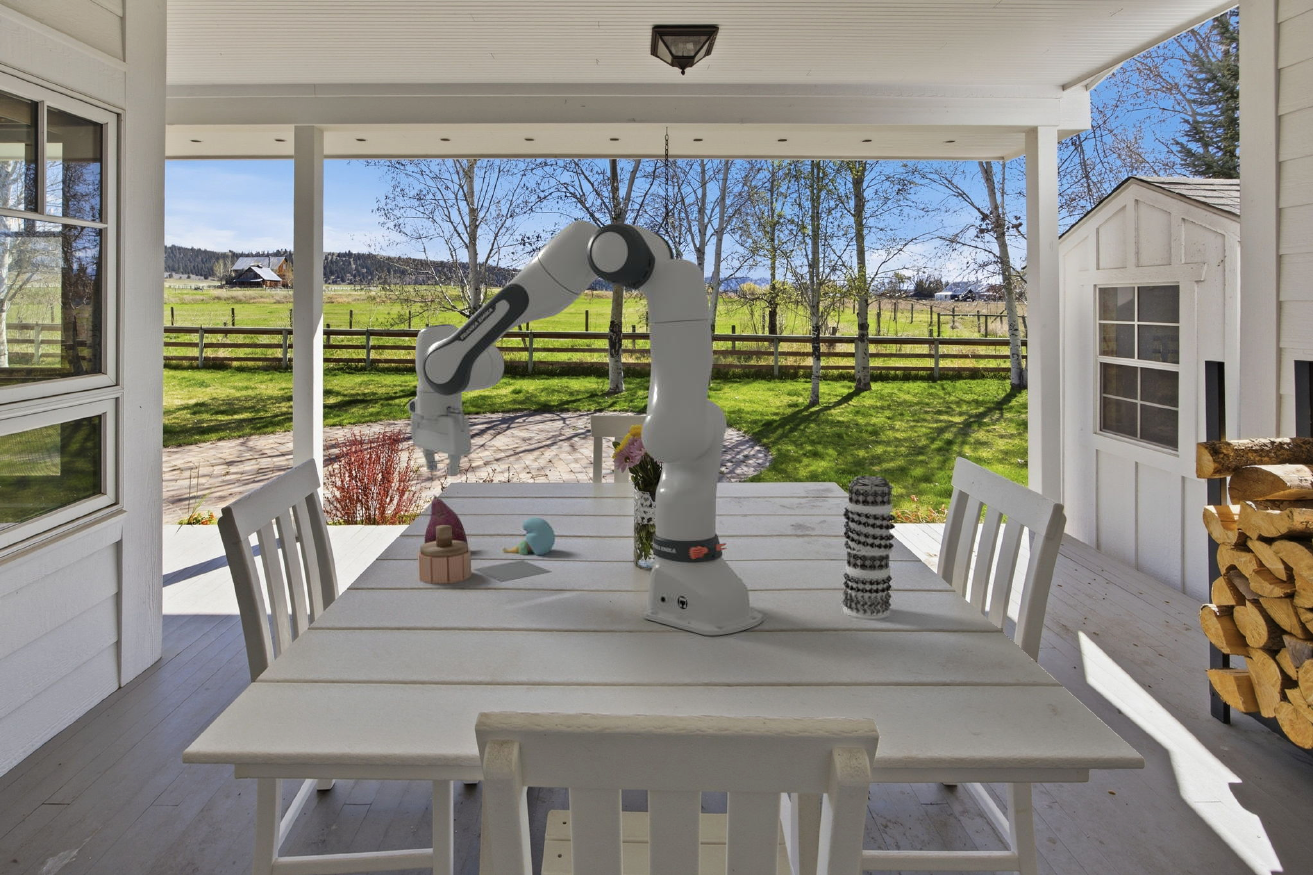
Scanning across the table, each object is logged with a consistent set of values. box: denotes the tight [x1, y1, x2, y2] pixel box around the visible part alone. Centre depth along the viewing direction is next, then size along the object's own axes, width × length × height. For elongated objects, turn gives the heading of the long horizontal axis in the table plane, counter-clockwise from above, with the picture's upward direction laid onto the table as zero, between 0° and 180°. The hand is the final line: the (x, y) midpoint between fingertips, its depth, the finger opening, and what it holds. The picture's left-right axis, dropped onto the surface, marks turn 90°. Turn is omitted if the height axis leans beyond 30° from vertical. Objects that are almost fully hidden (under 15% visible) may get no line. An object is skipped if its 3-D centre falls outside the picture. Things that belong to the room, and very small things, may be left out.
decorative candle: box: [842, 475, 896, 620], centre depth 162 cm, size 9×9×25 cm
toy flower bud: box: [502, 517, 556, 556], centre depth 204 cm, size 7×9×12 cm
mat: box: [473, 560, 552, 583], centre depth 189 cm, size 12×12×1 cm
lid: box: [419, 525, 469, 557], centre depth 183 cm, size 10×10×5 cm
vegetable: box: [423, 495, 469, 544], centre depth 206 cm, size 10×10×15 cm
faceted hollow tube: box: [417, 547, 472, 584], centre depth 184 cm, size 10×11×6 cm
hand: (442, 473), depth 182 cm, fingers open, 8 cm apart
